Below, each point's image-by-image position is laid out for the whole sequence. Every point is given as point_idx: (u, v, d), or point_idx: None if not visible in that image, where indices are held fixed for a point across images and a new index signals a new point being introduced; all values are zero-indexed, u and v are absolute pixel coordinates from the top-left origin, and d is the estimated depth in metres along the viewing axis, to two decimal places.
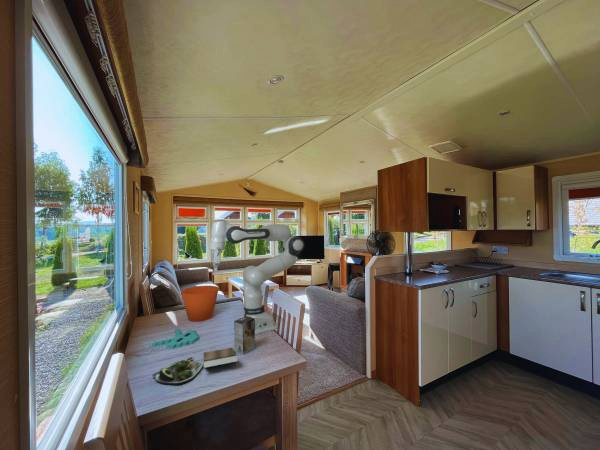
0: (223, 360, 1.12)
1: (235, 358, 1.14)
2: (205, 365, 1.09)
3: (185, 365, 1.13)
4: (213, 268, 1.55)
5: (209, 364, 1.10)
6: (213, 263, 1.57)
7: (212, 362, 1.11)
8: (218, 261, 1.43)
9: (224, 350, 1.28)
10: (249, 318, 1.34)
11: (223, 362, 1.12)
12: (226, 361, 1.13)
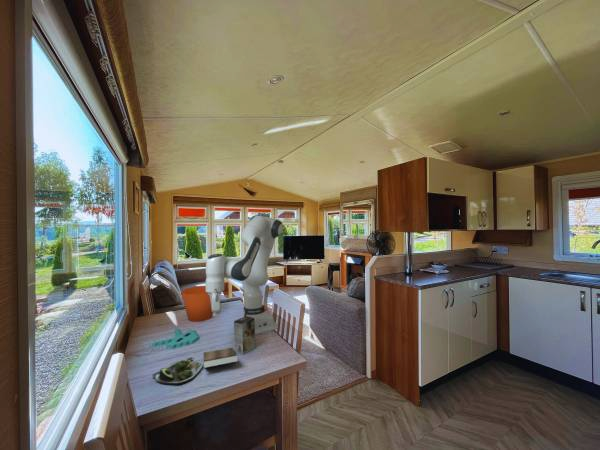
0: (223, 360, 1.12)
1: (235, 358, 1.14)
2: (205, 365, 1.09)
3: (185, 365, 1.13)
4: (213, 315, 1.24)
5: (209, 364, 1.10)
6: None
7: (212, 362, 1.11)
8: (217, 308, 1.16)
9: (224, 350, 1.28)
10: (249, 318, 1.34)
11: (223, 362, 1.12)
12: (226, 361, 1.13)
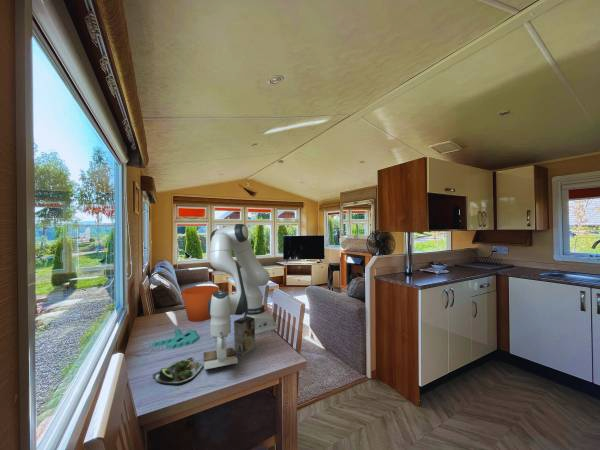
0: (223, 362, 1.12)
1: (235, 360, 1.14)
2: (205, 367, 1.09)
3: (185, 365, 1.13)
4: (218, 360, 1.13)
5: (209, 366, 1.10)
6: None
7: (212, 364, 1.10)
8: (224, 356, 1.04)
9: None
10: (249, 318, 1.34)
11: (223, 364, 1.12)
12: (226, 363, 1.12)
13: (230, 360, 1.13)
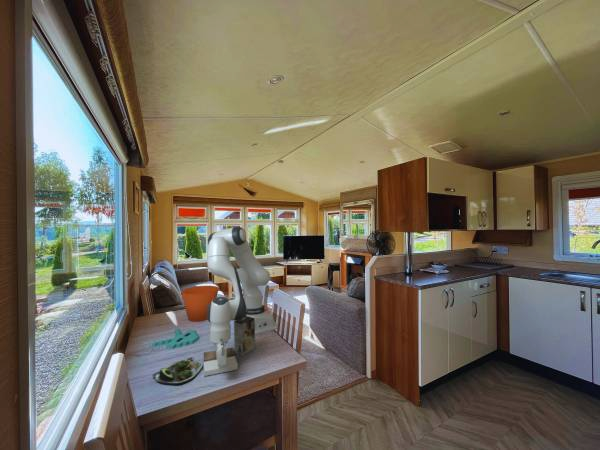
0: (223, 369, 1.12)
1: (235, 366, 1.14)
2: (205, 374, 1.09)
3: (185, 365, 1.13)
4: None
5: (209, 373, 1.10)
6: None
7: (212, 371, 1.10)
8: (224, 362, 1.04)
9: None
10: (249, 318, 1.34)
11: (223, 370, 1.12)
12: (226, 369, 1.12)
13: (230, 367, 1.13)
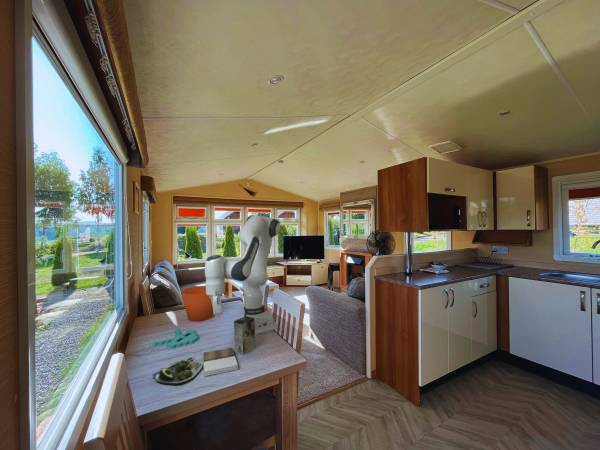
0: (223, 369, 1.12)
1: (235, 367, 1.14)
2: (205, 374, 1.09)
3: (185, 365, 1.13)
4: (215, 317, 1.23)
5: (209, 373, 1.10)
6: None
7: (212, 371, 1.10)
8: (219, 311, 1.14)
9: (224, 350, 1.28)
10: (249, 318, 1.34)
11: (223, 371, 1.12)
12: (226, 370, 1.12)
13: (230, 367, 1.13)
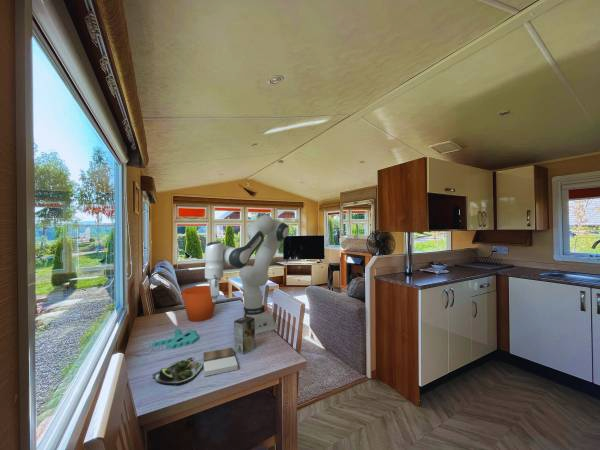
0: (223, 369, 1.12)
1: (235, 367, 1.14)
2: (205, 374, 1.09)
3: (185, 365, 1.13)
4: None
5: (209, 373, 1.10)
6: None
7: (212, 371, 1.10)
8: (216, 293, 1.18)
9: (224, 350, 1.28)
10: (249, 318, 1.34)
11: (223, 371, 1.12)
12: (226, 370, 1.12)
13: (230, 367, 1.13)
